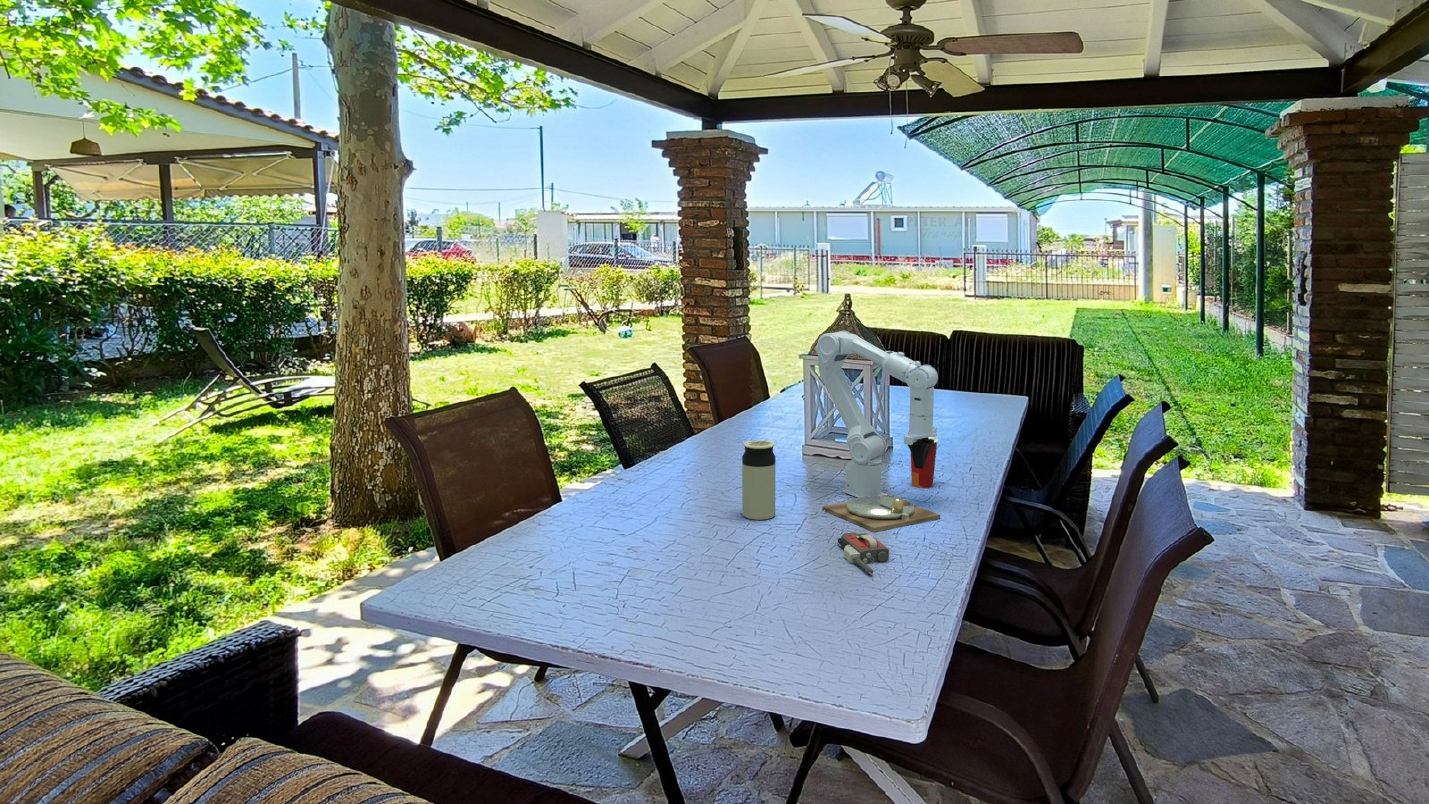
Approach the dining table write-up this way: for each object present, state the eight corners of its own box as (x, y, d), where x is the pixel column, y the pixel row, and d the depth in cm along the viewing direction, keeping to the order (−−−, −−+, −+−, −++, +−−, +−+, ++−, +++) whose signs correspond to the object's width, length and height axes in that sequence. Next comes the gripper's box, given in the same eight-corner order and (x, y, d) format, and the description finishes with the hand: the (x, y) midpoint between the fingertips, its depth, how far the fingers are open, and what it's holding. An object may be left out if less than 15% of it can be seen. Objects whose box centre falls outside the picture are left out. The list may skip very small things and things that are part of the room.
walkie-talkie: (828, 546, 190) (866, 579, 171) (828, 527, 189) (867, 557, 170) (865, 542, 192) (907, 574, 173) (865, 523, 192) (908, 553, 172)
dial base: (822, 510, 216) (822, 500, 215) (885, 498, 225) (885, 489, 225) (874, 532, 198) (874, 522, 198) (940, 518, 208) (940, 509, 207)
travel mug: (781, 515, 212) (782, 443, 208) (760, 522, 206) (760, 448, 203) (756, 509, 217) (756, 438, 214) (735, 516, 211) (735, 443, 208)
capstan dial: (833, 505, 215) (834, 489, 214) (885, 496, 222) (885, 480, 221) (874, 522, 201) (874, 505, 200) (928, 512, 208) (928, 495, 207)
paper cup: (940, 484, 239) (942, 434, 236) (931, 490, 232) (933, 439, 230) (912, 480, 243) (914, 431, 240) (903, 486, 236) (904, 436, 234)
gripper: (923, 420, 208) (921, 476, 210) (948, 412, 219) (946, 464, 222) (896, 417, 212) (895, 471, 215) (922, 409, 224) (920, 460, 226)
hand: (919, 467), depth 218 cm, fingers closed
